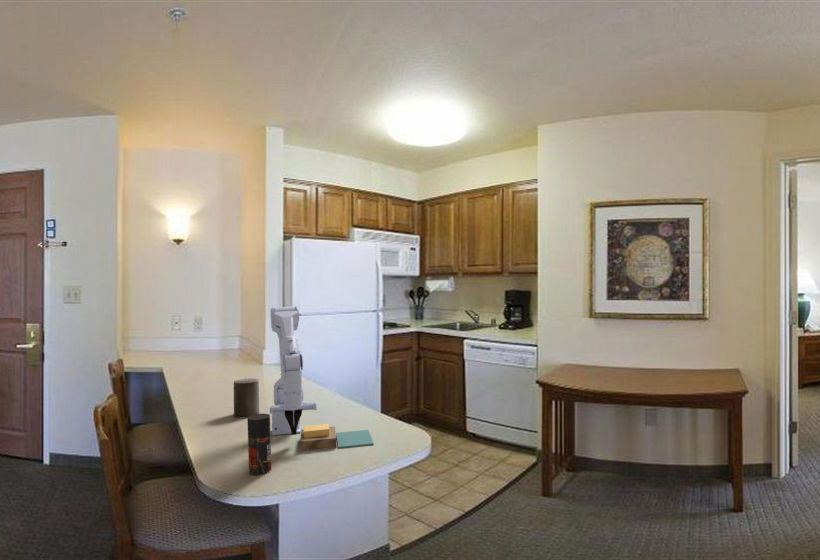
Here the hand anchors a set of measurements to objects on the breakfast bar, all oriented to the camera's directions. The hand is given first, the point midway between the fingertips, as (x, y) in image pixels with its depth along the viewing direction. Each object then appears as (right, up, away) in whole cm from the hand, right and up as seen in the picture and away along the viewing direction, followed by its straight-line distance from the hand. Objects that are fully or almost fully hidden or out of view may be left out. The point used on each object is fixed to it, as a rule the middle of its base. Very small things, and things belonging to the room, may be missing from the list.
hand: (294, 433), depth 146 cm
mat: (+19, -3, +4) cm, 19 cm away
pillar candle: (-29, -5, +38) cm, 48 cm away
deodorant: (-4, -4, -19) cm, 20 cm away
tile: (+7, -1, +1) cm, 7 cm away
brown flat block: (+8, -4, +2) cm, 8 cm away
